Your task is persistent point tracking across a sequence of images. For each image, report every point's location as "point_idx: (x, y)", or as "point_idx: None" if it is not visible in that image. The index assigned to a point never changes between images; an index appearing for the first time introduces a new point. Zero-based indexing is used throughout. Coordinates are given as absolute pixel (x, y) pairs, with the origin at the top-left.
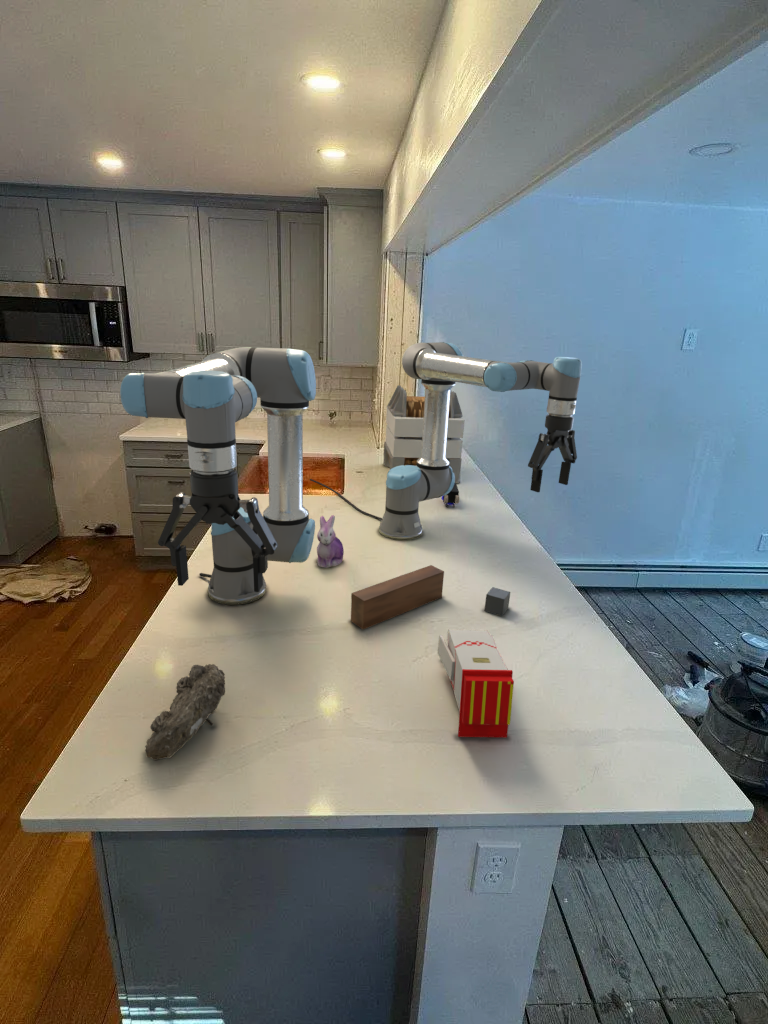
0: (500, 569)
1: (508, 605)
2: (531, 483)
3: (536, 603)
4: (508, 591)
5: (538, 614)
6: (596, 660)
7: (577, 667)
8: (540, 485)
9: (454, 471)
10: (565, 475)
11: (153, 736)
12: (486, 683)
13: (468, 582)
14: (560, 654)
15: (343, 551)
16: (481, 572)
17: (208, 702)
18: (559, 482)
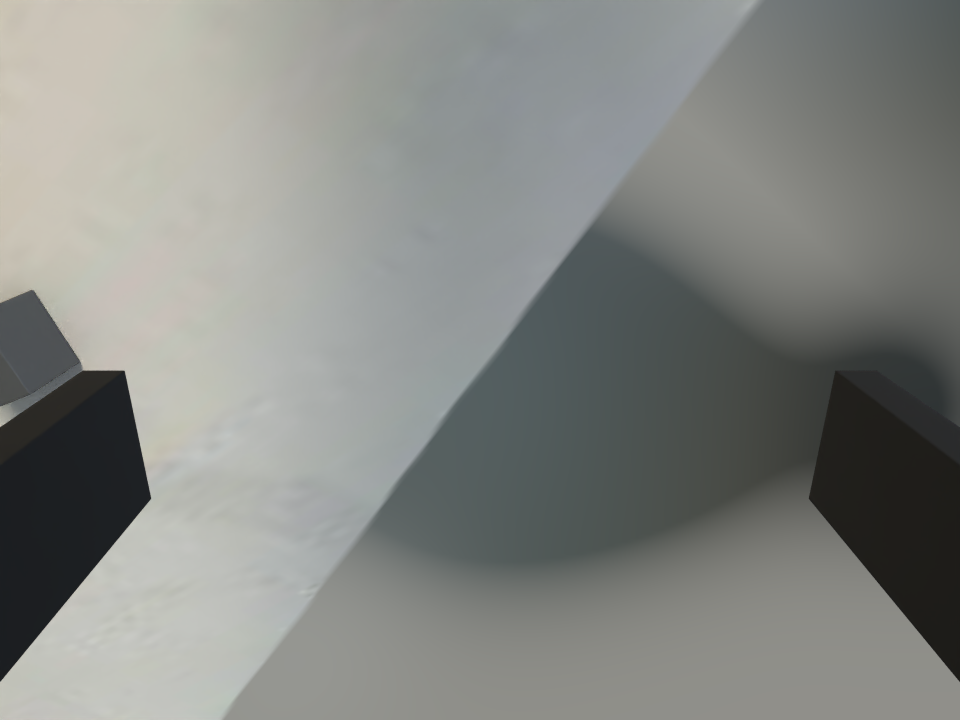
0: (339, 56)
1: (69, 368)
2: (12, 425)
3: (227, 401)
4: (22, 387)
5: (166, 456)
6: (130, 696)
7: (47, 685)
8: (89, 565)
9: None
10: (900, 558)
11: None
12: None
13: (58, 66)
14: (47, 630)
15: None
16: (209, 16)
17: None
18: (838, 390)
